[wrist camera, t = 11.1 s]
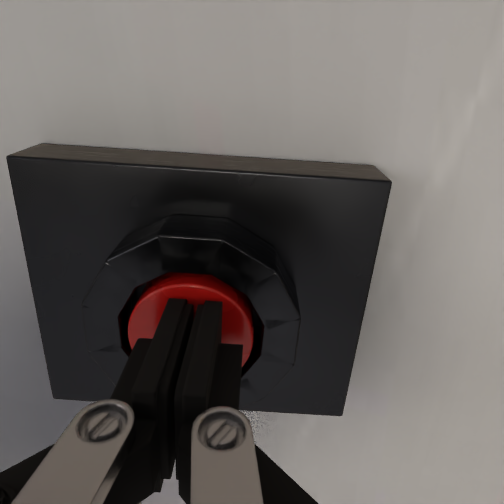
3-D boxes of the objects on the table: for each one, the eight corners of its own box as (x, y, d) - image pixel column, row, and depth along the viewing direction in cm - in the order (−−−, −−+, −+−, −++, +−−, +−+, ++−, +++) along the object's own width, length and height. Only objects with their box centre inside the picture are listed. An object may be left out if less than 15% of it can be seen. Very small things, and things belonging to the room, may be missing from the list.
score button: (144, 350, 15) (130, 384, 14) (138, 254, 13) (122, 280, 12) (250, 357, 15) (249, 391, 14) (257, 262, 14) (257, 288, 12)
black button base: (74, 363, 19) (29, 436, 15) (40, 142, 14) (-35, 169, 11) (333, 379, 19) (351, 455, 15) (375, 165, 14) (413, 198, 11)
